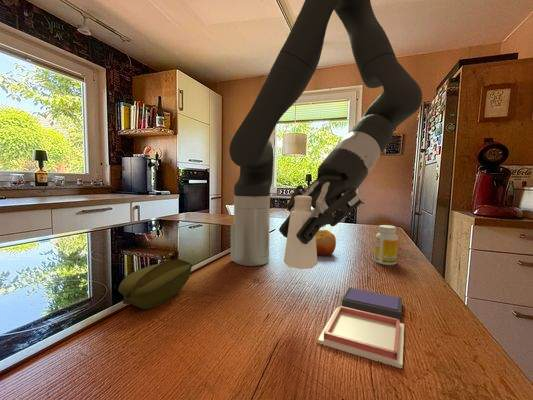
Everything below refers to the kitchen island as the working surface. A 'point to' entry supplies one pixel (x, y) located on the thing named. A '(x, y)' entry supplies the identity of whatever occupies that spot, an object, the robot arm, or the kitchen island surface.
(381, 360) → the pink and white tray
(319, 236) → the fruit
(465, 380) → the kitchen island surface
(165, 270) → the fruit
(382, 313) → the ink pad
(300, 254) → the pepper shaker
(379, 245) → the supplement bottle
